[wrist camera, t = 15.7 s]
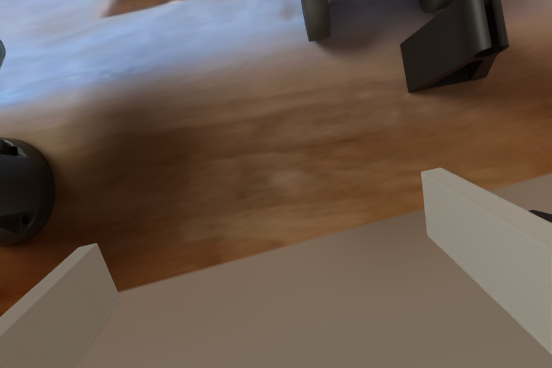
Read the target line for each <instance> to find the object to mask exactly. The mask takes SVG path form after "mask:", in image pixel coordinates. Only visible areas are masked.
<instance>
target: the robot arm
mask: <svg viewBox="0 0 552 368" xmlns="http://www.w3.org/2000/svg"><path fill="white" fill-rule="evenodd" d="M5 53H6V51H5V48H4V45H3V43H2V41H1V40H0V68H1V65H2V63H3V60H4V58H5ZM421 177H422V187H423V197H424V207H425V217H426V227H427V235H428V236H429V237H430V238H431V239H432V240H433V241H434V242H435V243H436V244H437V245H438V246H439V247H440V248H441V249H442V250H443V251H444V252H446V254H448V255H449V256H450V257H451V258H452V259H453V260H454V261H455V262H456V263H457V264H458V265H459V266H460V267H461V268H462V269H463V270H464V271H465V272H466V273H467V274H468V275H469V276H470V277H471V278H473V280H475V281H476V282H477V283H478V284H479V285H480V286H481V287H482V288H483V289H484V290H485V291H486V292H487V293H488V294H489V295H490V296H491V297H492V298H493V299H494V300H495V301H497V303H498V304H499V305H500V306H502V307H503V308H504V309H505V310H506V311H507V312H508V313H509V314H510V315H511V316H512V317H513V318H514V319H515V320H516V321H517V322H518V323H519V324H520V325H521V326H523V328H524V329H525V330H526V331H528V332H529V333H530V334H531V335H532V336H533V337H534V338H535V339H536V340H537V341H538V342H539V343H540V344H541V345H542V346H543V347H544V348H545V349H546V350H547V351H548V352H549V353H550V354H551V355H552V214H548V213H544V212H540V211H535V210H531V211H526V210H524V209H522V208H520V207H518V206H516V205H514V204H512V203H510V202H508V201H506V200H504V199H502V198H501V197H498V196H496V195H494V194H492V193H491V192H489V191H487V190H485V189H483V188H481V187H479V186H477V185H475V184H473V183H471V182H469V181H467V180H465V179H463V178H461V177H459V176H457V175H455V174H453V173H451V172H449V171H447V170H445V169H443V168H436V169H432V170H427V171H423V172H421ZM53 202H54V181H53V177H52V173H51V171H50V168H49V166H48V164H47V162H46V161H45V159H44V158H43V156H42V155H41V154H40V153H39V152H38V151H37V150H36V149H35V148H33V147H32V146H30V145H29V144H27V143H25V142H23V141H20V140H16V139H10V138H3V137H0V246H6V245H11V244H16V243H20V242H23V241H25V240H27V239H29V238H31V237H32V236H33V235H35V234H36V233H37V232H38V231H39V230H40V229H41V228H42V227H43V225H44V224H45V223H46V221H47V219H48V217H49V215H50V213H51V210H52V206H53ZM120 301H121V299H120V296H119V294H118V292H117V289H116V287H115V285H114V282H113V280H112V278H111V275H110V273H109V270H108V268H107V266H106V263H105V261H104V259H103V256H102V254H101V252H100V249H99V247H98V244H97V243H95V244H91V245H86V246H82V247H78V248H77V249H76V250H75V251H74V252H73V253H72V254H71V255H69V256H68V257H67V258H66V259H65V260H64V261H63V262H62V263H60V264H59V265H58V266H57V267H56V268H55V269H54V270H53V271H51V272H50V273H49V274H48V275H47V276H46V277H45V278H44V279H43V280H41V281H40V282H39V283H38V284H37V285H36V286H35V287H34V288H32V289H31V290H30V291H29V292H28V293H27V294H26V295H25V296H23V297H22V298H21V299H20V300H19V301H18V302H17V303H16V304H14V305H13V306H12V307H11V308H10V309H9V310H8V311H7V312H6V313H4V314H3V315H2V316H1V317H0V368H77V366H78V365H79V363H80V362H81V360H82V359H83V357H84V356H85V354H86V353H87V351H88V350H89V348H90V347H91V345H92V344H93V342H94V341H95V339H96V337H97V336H98V334H99V333H100V331H101V330H102V328H103V327H104V325H105V324H106V322H107V321H108V319H109V318H110V316H111V315H112V313H113V312H114V310H115V309H116V307H117V306H118V304H119V303H120Z"/></svg>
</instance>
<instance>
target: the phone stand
mask: <svg viewBox="0 0 552 368" xmlns="http://www.w3.org/2000/svg"><path fill="white" fill-rule="evenodd" d="M400 47H401V52H402V58H403V64H404V69H405V75H406V81H407V86H408V92H415V91H420V90H425V89H430V88H436V87H441V86H445V85H451V84H456V83H462V82H467V81H472V80H477V79H482V78H485V77H486V76H487V74H488V72H489V70H490V68H491V66H492V64H493V61H494V59H495V57H496V56H497V55H498V54H499V53H500V52H502V51H504V50H505V49H507V48H508V47H509V44H508V38H507V33H506V27H505V22H504V16H503V11H502V5H501V0H455V1H454V2H453V3H452V4H451V5H449V6H448V7H447V8H445V9H444V10H443V11H442V12H440V13H439V14H438V15H437V16H435V17H434V18H433V19H432V20H430V21H429V22H428V23H427V24H425V25H424V26H423V27H422V28H420V29H419V30H418V31H417V32H415V33H414V34H413V35H412V36H410V37H409V38H408V39H406V40H405V41H404V42H403V43H401V44H400Z"/></svg>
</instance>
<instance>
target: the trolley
mask: <svg viewBox="0 0 552 368" xmlns="http://www.w3.org/2000/svg"><path fill="white" fill-rule="evenodd" d="M454 1H455V0H419V3H420V6H421V8H422V9H423V11H424V12H426V13H429V12H433V11H437V10H441V9H445V8H447V7H448V6H449V5H451V4H452V3H453V2H454ZM301 3H302V9H303V15H304V20H305V25H306V30H307V35H308V39H309V42H310V41H314V40H319V39H323V38H327V37H330V18H329V9H328V2H327V0H301Z"/></svg>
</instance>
